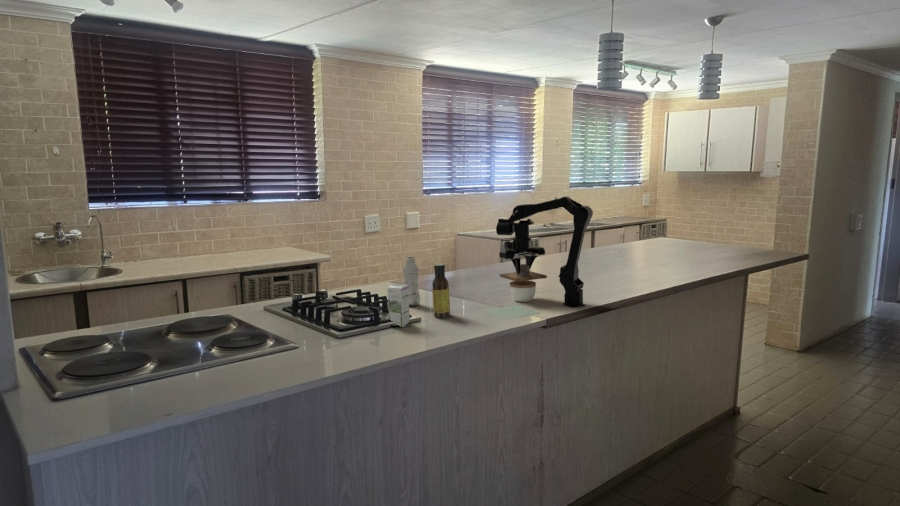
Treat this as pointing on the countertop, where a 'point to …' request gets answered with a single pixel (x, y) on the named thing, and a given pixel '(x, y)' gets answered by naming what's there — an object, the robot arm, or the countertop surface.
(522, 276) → the lid
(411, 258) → the plastic bottle
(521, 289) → the lidded jar
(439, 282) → the sauce bottle
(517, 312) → the mat
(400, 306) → the syrup box
